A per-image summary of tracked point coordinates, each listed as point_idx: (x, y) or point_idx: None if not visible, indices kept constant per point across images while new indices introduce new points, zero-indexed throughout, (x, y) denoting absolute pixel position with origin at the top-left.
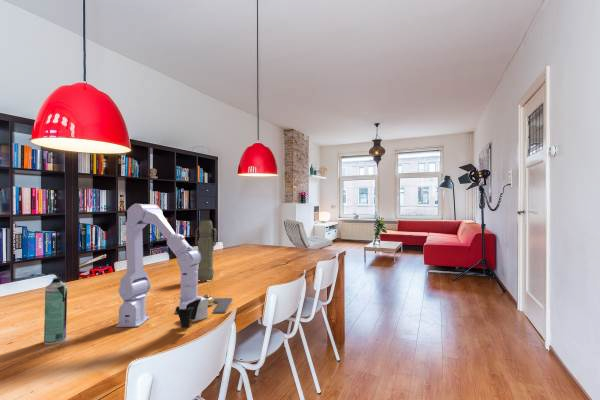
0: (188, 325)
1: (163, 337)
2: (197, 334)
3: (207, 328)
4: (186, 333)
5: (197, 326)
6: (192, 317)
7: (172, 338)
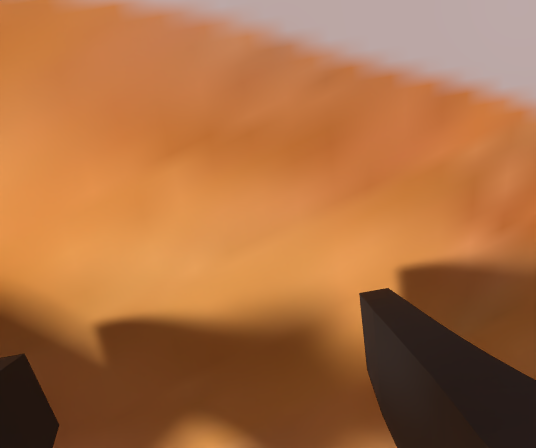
0: (406, 301)
1: None
2: (417, 89)
3: (157, 25)
4: (383, 261)
5: (119, 231)
6: (21, 409)
7: (529, 341)
